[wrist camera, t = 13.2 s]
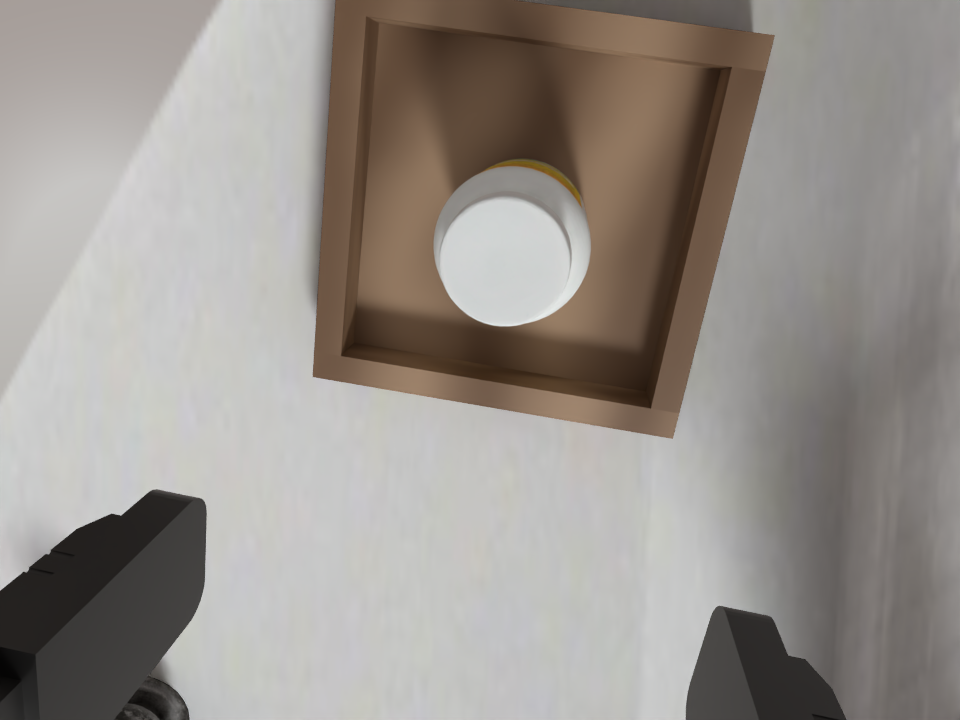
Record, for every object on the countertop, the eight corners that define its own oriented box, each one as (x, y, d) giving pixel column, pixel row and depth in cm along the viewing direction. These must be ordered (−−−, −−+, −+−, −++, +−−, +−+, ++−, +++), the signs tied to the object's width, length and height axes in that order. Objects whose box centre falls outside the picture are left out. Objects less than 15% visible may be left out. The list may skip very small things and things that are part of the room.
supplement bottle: (600, 262, 30) (616, 323, 21) (483, 298, 32) (451, 371, 22) (564, 138, 29) (564, 146, 20) (442, 180, 30) (390, 206, 21)
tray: (753, 43, 28) (774, 35, 25) (663, 411, 33) (672, 438, 31) (359, -11, 29) (337, -24, 26) (333, 355, 34) (312, 376, 32)
